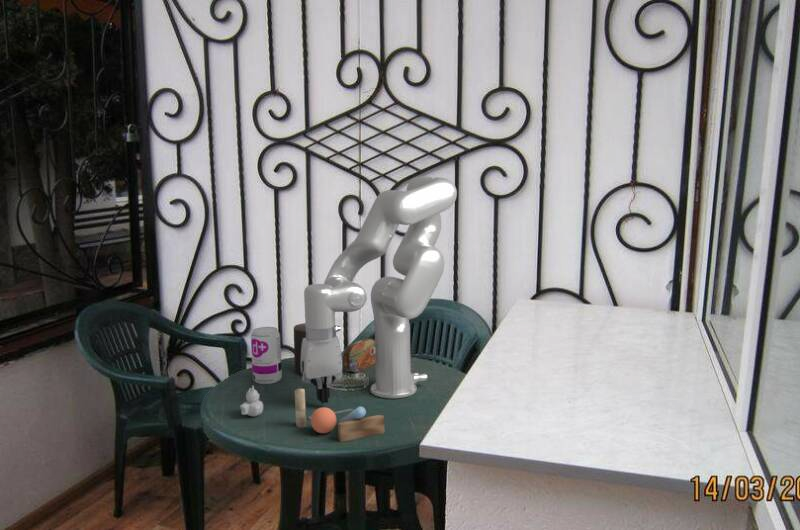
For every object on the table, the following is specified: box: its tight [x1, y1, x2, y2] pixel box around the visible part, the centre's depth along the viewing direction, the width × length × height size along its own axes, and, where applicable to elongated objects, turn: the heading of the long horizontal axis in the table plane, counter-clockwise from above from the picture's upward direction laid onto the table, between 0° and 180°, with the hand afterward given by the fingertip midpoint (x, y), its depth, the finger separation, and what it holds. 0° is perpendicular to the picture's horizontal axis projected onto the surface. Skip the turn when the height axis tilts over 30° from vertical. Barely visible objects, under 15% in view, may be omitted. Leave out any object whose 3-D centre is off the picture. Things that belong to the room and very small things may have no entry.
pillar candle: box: [293, 322, 306, 376], centre depth 215 cm, size 10×10×15 cm
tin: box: [342, 338, 376, 374], centre depth 217 cm, size 15×3×8 cm, turn 147°
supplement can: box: [250, 326, 283, 385], centre depth 207 cm, size 8×8×15 cm
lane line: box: [307, 408, 355, 420], centre depth 182 cm, size 12×1×1 cm, turn 116°
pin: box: [339, 406, 367, 423], centre depth 170 cm, size 2×2×9 cm
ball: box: [310, 406, 337, 434], centre depth 170 cm, size 6×6×6 cm
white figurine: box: [239, 385, 264, 417], centre depth 181 cm, size 5×7×8 cm
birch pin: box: [294, 388, 307, 429], centre depth 174 cm, size 2×2×9 cm
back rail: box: [337, 413, 386, 443], centre depth 167 cm, size 11×2×4 cm, turn 116°
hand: (323, 401), depth 186 cm, fingers closed
